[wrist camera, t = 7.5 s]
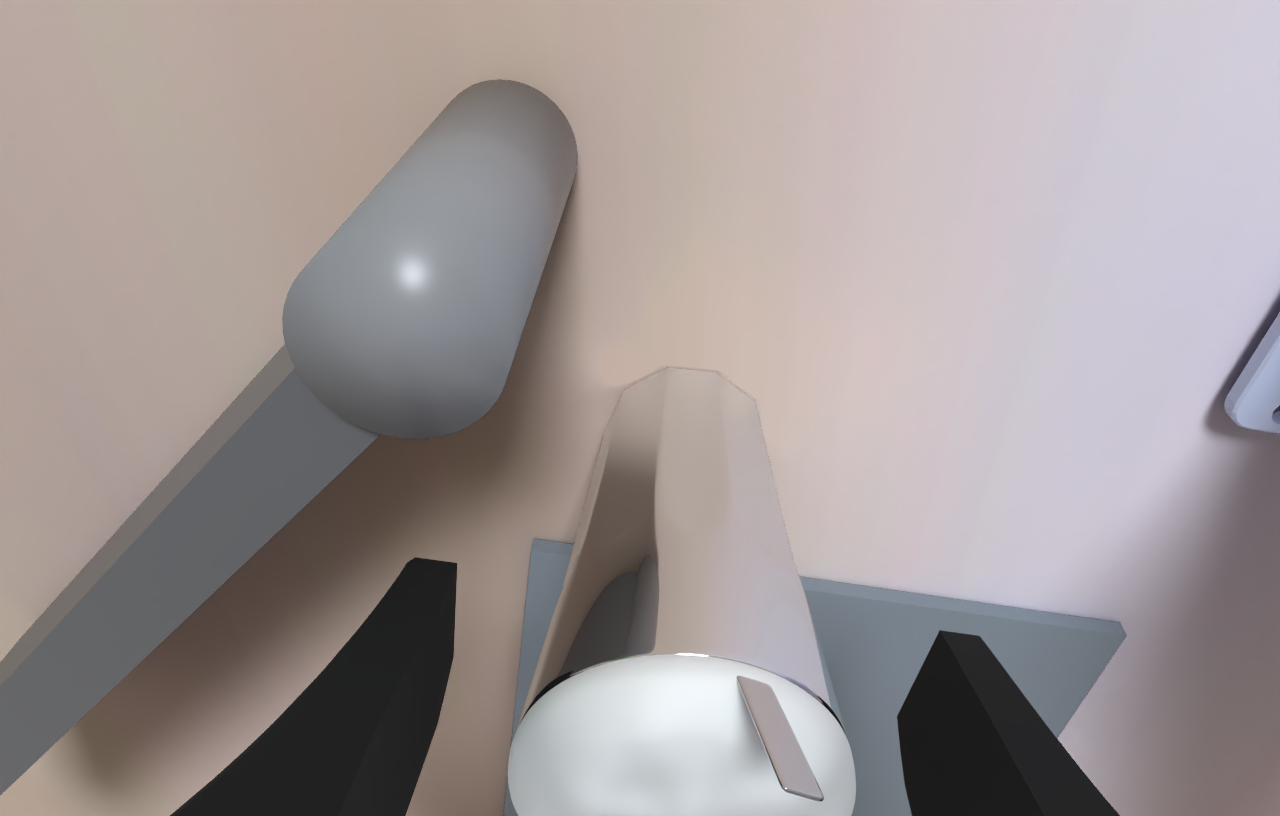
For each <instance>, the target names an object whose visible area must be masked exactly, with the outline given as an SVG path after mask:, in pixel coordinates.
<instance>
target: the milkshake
mask: <svg viewBox="0 0 1280 816" xmlns="http://www.w3.org/2000/svg"><path fill="white" fill-rule="evenodd" d="M508 785H509V791H510V796H511V800H512V803H513V805H514V808H515V810H516V812H517V814H518V816H851V815H852V812H853V809H854V804H855V798H856V776H855V768H854V762H853V757H852V752H851V748H850V745H849V742H848V738H847V734H846V731H845V727H844V724H843V720H842V717H841V713H840V710H839V706H838V703H837V699H836V696H835V693H834V689H833V686H832V682H831V679H830V675H829V672H828V668H827V665H826V661H825V658H824V655H823V651H822V648H821V644H820V641H819V637H818V634H817V631H816V627H815V624H814V621H813V617H812V614H811V611H810V608H809V604H808V601H807V598H806V595H805V592H804V589H803V586H802V583H801V580H800V577H799V574H798V571H797V567H796V564H795V560H794V557H793V553H792V549H791V545H790V541H789V537H788V533H787V529H786V525H785V521H784V517H783V513H782V509H781V505H780V501H779V496H778V492H777V488H776V484H775V480H774V476H773V471H772V467H771V463H770V459H769V455H768V451H767V446H766V442H765V438H764V434H763V430H762V425H761V421H760V417H759V413H758V409H757V405H756V402H755V400H754V399H753V398H751V397H750V396H749V395H747V394H746V393H745V392H743V391H742V390H741V389H740V388H738V387H737V386H736V385H734V384H733V383H732V382H730V381H729V380H728V379H727V378H725V377H724V376H723V375H721V374H720V373H719V372H717V371H705V370H693V369H682V368H671V367H667V368H665V369H663V370H661V371H659V372H657V373H655V374H653V375H651V376H649V377H647V378H645V379H643V380H641V381H639V382H637V383H635V384H633V385H631V386H629V387H627V388H625V389H624V391H623V393H622V395H621V397H620V399H619V401H618V404H617V406H616V408H615V410H614V412H613V414H612V416H611V419H610V421H609V423H608V425H607V427H606V429H605V433H604V436H603V440H602V443H601V447H600V451H599V454H598V458H597V462H596V465H595V469H594V473H593V476H592V480H591V484H590V487H589V491H588V495H587V498H586V502H585V506H584V510H583V513H582V517H581V521H580V524H579V528H578V532H577V535H576V539H575V543H574V546H573V550H572V554H571V557H570V561H569V565H568V568H567V572H566V576H565V579H564V583H563V586H562V590H561V593H560V596H559V599H558V601H557V604H556V607H555V610H554V613H553V616H552V619H551V623H550V626H549V629H548V632H547V635H546V638H545V641H544V645H543V648H542V651H541V654H540V657H539V660H538V663H537V667H536V670H535V673H534V676H533V679H532V682H531V686H530V689H529V692H528V695H527V698H526V701H525V705H524V708H523V711H522V714H521V717H520V721H519V724H518V727H517V731H516V734H515V736H514V739H513V742H512V745H511V748H510V754H509V760H508Z"/></svg>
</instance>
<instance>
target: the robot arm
mask: <svg viewBox="0 0 1280 816" xmlns="http://www.w3.org/2000/svg"><path fill="white" fill-rule="evenodd" d="M1279 405H1280V312H1279V314H1278V315H1277V317H1276V319H1275V320H1274V322H1273V323H1272V325H1271V327H1270V328H1269V330H1268V331H1267V333H1266V335H1265V336H1264V338H1263V339H1262V341H1261V343H1260V344H1259V346H1258V347H1257V349H1256V350H1255V352H1254V354H1253V355H1252V357H1251V358H1250V360H1249V362H1248V363H1247V365H1246V366H1245V368H1244V370H1243V371H1242V373H1241V374H1240V376H1239V377H1238V379H1237V381H1236V382H1235V384H1234V385H1233V387H1232V389H1231V390H1230V392H1229V393H1228V395H1227V397H1226V400H1225V403H1224V407H1225V412H1226V413H1227V414H1228V415H1229V416H1230V418H1231V419H1232V420H1233V421H1234V422H1235V423H1236V424H1237V425H1238V426H1240V427H1242V428H1245V429H1250V430H1256V431H1263V432H1269V433H1276V434H1280V411H1278V412H1276V413H1273V411H1274V410H1275V409H1276V408H1277V407H1278V406H1279ZM456 579H457V563H451V562H444V561H437V560H430V559H422V558H414V559H412V560H410V561H409V562H407V564H406V565H405V567H404V568H403V570H402V571H401V573H400V575H399V576H398V577H397V579H396V580H395V582H394V583H393V584H392V586H391V587H390V589H389V590H388V591H387V593H386V594H385V596H384V597H383V598H382V600H381V601H380V602H379V604H378V605H377V606H376V607H375V609H374V610H373V611H372V613H371V614H370V615H369V616H368V618H367V619H366V620H365V621H364V623H363V624H362V625H361V626H360V628H359V629H358V630H357V631H356V633H355V634H354V635H353V636H352V637H351V638H350V640H349V641H348V642H347V643H346V644H345V645H344V647H343V648H342V649H341V650H340V651H339V653H338V654H337V655H336V656H335V657H334V658H333V660H332V661H331V662H330V663H329V664H328V665H327V667H326V668H325V669H324V670H323V671H322V672H321V673H320V674H319V676H318V677H317V678H316V679H315V680H314V681H313V682H312V683H311V684H310V685H309V686H308V687H307V688H306V689H305V690H304V691H303V692H302V694H301V695H300V696H299V697H298V698H297V699H296V700H295V701H294V702H293V703H292V704H291V705H290V706H289V707H288V708H287V709H286V710H285V711H284V713H283V714H282V715H281V716H280V717H279V718H278V719H277V720H276V721H275V722H274V723H273V724H272V725H271V726H270V727H269V728H268V729H267V730H266V731H265V732H264V733H263V734H262V735H261V736H260V737H258V738H257V739H256V740H255V741H254V742H253V743H252V744H251V745H250V746H249V747H248V748H247V749H246V750H245V751H244V752H243V753H242V754H240V755H239V756H238V757H237V758H236V759H235V760H234V761H233V762H232V763H231V764H230V765H228V766H227V767H226V768H225V769H224V770H223V771H222V772H221V773H220V774H218V775H217V776H216V777H215V778H214V779H213V780H212V781H210V782H209V783H208V784H207V785H206V786H205V787H203V788H202V789H201V790H200V791H199V792H197V793H196V794H195V795H194V796H193V797H192V798H190V799H189V800H188V801H187V802H186V803H184V804H183V805H182V806H181V807H180V808H179V809H177V810H176V811H175V812H174V813H173V814H171V815H170V816H405V815H406V812H407V809H408V806H409V804H410V801H411V798H412V795H413V792H414V789H415V787H416V784H417V781H418V778H419V775H420V772H421V770H422V767H423V764H424V761H425V758H426V755H427V752H428V750H429V747H430V744H431V741H432V738H433V735H434V732H435V729H436V727H437V724H438V720H439V715H440V711H441V707H442V703H443V699H444V695H445V691H446V686H447V682H448V678H449V674H450V669H451V665H452V661H453V654H454V629H455V604H456ZM897 722H898V732H899V742H900V752H901V760H902V767H903V775H904V783H905V788H906V792H907V797H908V801H909V805H910V810H911V814H912V816H1120V815H1119V814H1118V813H1117V812H1116V811H1115V810H1114V808H1113V807H1112V806H1111V805H1110V804H1109V803H1108V801H1107V800H1106V799H1105V798H1104V797H1103V795H1102V794H1101V793H1100V792H1099V791H1098V789H1097V788H1096V787H1095V786H1094V785H1093V783H1092V782H1091V781H1090V780H1089V778H1088V777H1087V776H1086V775H1085V774H1084V772H1083V771H1082V770H1081V769H1080V767H1079V766H1078V765H1077V764H1076V762H1075V761H1074V760H1073V759H1072V757H1071V756H1070V755H1069V753H1068V752H1067V751H1066V750H1065V748H1064V747H1063V746H1062V744H1061V743H1060V742H1059V741H1058V739H1057V738H1056V737H1055V735H1054V734H1053V733H1052V731H1051V730H1050V729H1049V728H1048V726H1047V725H1046V724H1045V722H1044V721H1043V720H1042V718H1041V717H1040V716H1039V714H1038V713H1037V712H1036V710H1035V709H1034V708H1033V706H1032V705H1031V704H1030V702H1029V701H1028V700H1027V698H1026V697H1025V696H1024V694H1023V693H1022V692H1021V690H1020V689H1019V688H1018V686H1017V685H1016V684H1015V682H1014V681H1013V680H1012V678H1011V677H1010V676H1009V674H1008V673H1007V671H1006V670H1005V669H1004V667H1003V666H1002V665H1001V663H1000V662H999V661H998V659H997V658H996V657H995V655H994V654H993V653H992V651H991V650H990V649H989V647H988V646H987V645H986V643H985V642H984V641H983V640H982V638H981V637H980V636H978V635H970V634H963V633H956V632H949V631H942V630H939V633H938V635H937V637H936V639H935V641H934V643H933V645H932V647H931V649H930V651H929V653H928V655H927V657H926V659H925V661H924V663H923V665H922V667H921V669H920V671H919V673H918V675H917V677H916V679H915V681H914V683H913V685H912V687H911V689H910V691H909V693H908V695H907V697H906V699H905V701H904V703H903V705H902V707H901V709H900V711H899V713H898V715H897Z"/></svg>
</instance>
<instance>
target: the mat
mask: <svg viewBox="0 0 1280 816" xmlns="http://www.w3.org/2000/svg"><path fill="white" fill-rule="evenodd" d="M573 546H574V544H569V543H562V542H555V541H548V540H541V539H534V540H533V544H532V549H531V556H530V566H529V576H528V585H527V595H526V604H525V614H524V624H523V633H522V643H521V652H520V662H519V672H518V681H517V691H516V700H515V710H514V719H513V729H512V739H511V745H512V742H513V739H514V736H515V734H516V731H517V727H518V724H519V721H520V717H521V714H522V711H523V708H524V705H525V701H526V698H527V695H528V692H529V689H530V686H531V682H532V679H533V676H534V673H535V670H536V667H537V663H538V660H539V657H540V654H541V651H542V648H543V645H544V641H545V638H546V635H547V632H548V629H549V626H550V623H551V619H552V616H553V613H554V610H555V607H556V604H557V601H558V599H559V596H560V593H561V590H562V586H563V583H564V579H565V576H566V572H567V568H568V565H569V561H570V557H571V554H572V550H573ZM800 580H801V583H802V586H803V589H804V592H805V595H806V598H807V601H808V604H809V608H810V611H811V614H812V617H813V621H814V624H815V627H816V631H817V634H818V637H819V641H820V644H821V648H822V651H823V655H824V658H825V661H826V665H827V668H828V672H829V675H830V679H831V682H832V686H833V689H834V693H835V696H836V699H837V703H838V706H839V710H840V713H841V717H842V720H843V724H844V727H845V731H846V734H847V738H848V742H849V745H850V748H851V752H852V757H853V762H854V768H855V776H856V798H855V804H854V809H853V812H852V815H851V816H912V814H911V810H910V805H909V801H908V797H907V792H906V788H905V783H904V775H903V767H902V760H901V752H900V742H899V732H898V722H897V715H898V713H899V711H900V709H901V707H902V705H903V703H904V701H905V699H906V697H907V695H908V693H909V691H910V689H911V687H912V685H913V683H914V681H915V679H916V677H917V675H918V673H919V671H920V669H921V667H922V665H923V663H924V661H925V659H926V657H927V655H928V653H929V651H930V649H931V647H932V645H933V643H934V641H935V639H936V637H937V635H938V633H939V630H942V631H949V632H956V633H963V634H970V635H978V636H980V637H981V638H982V640H983V641H984V642H985V643H986V645H987V646H988V647H989V649H990V650H991V651H992V653H993V654H994V655H995V657H996V658H997V659H998V661H999V662H1000V663H1001V665H1002V666H1003V667H1004V669H1005V670H1006V671H1007V673H1008V674H1009V676H1010V677H1011V678H1012V680H1013V681H1014V682H1015V684H1016V685H1017V686H1018V688H1019V689H1020V690H1021V692H1022V693H1023V694H1024V696H1025V697H1026V698H1027V700H1028V701H1029V702H1030V704H1031V705H1032V706H1033V708H1034V709H1035V710H1036V712H1037V713H1038V714H1039V716H1040V717H1041V718H1042V720H1043V721H1044V722H1045V724H1046V725H1047V726H1048V728H1049V729H1050V730H1051V731H1052V733H1053V734H1054V735H1055V737H1056V738H1058V736H1059V735H1060V734H1061V732H1062V731H1063V729H1064V728H1065V726H1066V725H1067V723H1068V722H1069V720H1070V719H1071V717H1072V716H1073V714H1074V713H1075V711H1076V710H1077V708H1078V707H1079V705H1080V704H1081V702H1082V701H1083V700H1084V698H1085V697H1086V695H1087V694H1088V692H1089V691H1090V689H1091V688H1092V686H1093V685H1094V683H1095V682H1096V680H1097V679H1098V677H1099V676H1100V674H1101V673H1102V671H1103V670H1104V669H1105V667H1106V666H1107V664H1108V663H1109V661H1110V660H1111V658H1112V657H1113V655H1114V654H1115V652H1116V651H1117V649H1118V648H1119V646H1120V645H1121V643H1122V642H1123V640H1124V639H1125V638H1126V636H1127V635H1126V633H1125V631H1124V629H1123V628H1122V626H1121V624H1120V623H1119V622H1112V621H1106V620H1099V619H1092V618H1085V617H1078V616H1071V615H1064V614H1057V613H1050V612H1043V611H1036V610H1029V609H1022V608H1015V607H1008V606H1001V605H994V604H987V603H980V602H973V601H966V600H959V599H952V598H945V597H938V596H931V595H924V594H917V593H910V592H903V591H896V590H889V589H882V588H875V587H868V586H862V585H855V584H848V583H841V582H834V581H827V580H820V579H813V578H806V577H800ZM503 816H518V814H517V812H516V810H515V808H514V805H513V803H512V800H511V796H510V791H509V785H508V777H507V787H506V796H505V806H504V815H503Z"/></svg>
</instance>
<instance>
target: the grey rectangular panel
mask: <svg viewBox="0 0 1280 816" xmlns="http://www.w3.org/2000/svg"><path fill="white" fill-rule="evenodd" d="M577 158H578V154H577V145H576V141H575V136H574V134H573V131H572V128H571V126H570V124H569V122H568V120H567V118H566V117H565V116H564V114H563V113H562V111H561V110H560V109H559V108H558V106H557V105H556V104H555V103H554V102H553V101H552V100H550V99H549V98H548V97H547V96H546V95H544V94H543V93H541V92H540V91H538V90H536V89H535V88H533V87H531V86H528V85H526V84H523V83H520V82H515V81H511V80H489V81H484V82H480V83H478V84H475V85H472V86H470V87H468V88H467V89H465V90H463V91H462V92H461V93H459V94H458V95H457V96H456V97H455V98H454V99H453V100H452V101H451V102H450V103H449V104H448V105H447V107H446V108H445V109H444V110H443V111H442V112H441V113H440V114H439V116H438V117H437V118H436V119H435V120H434V121H433V122H432V124H431V125H430V126H429V127H428V128H427V129H426V130H425V131H424V133H423V134H422V135H421V136H420V137H419V138H418V139H417V141H416V142H415V143H414V144H413V145H412V146H411V147H410V149H409V150H408V151H407V152H406V153H405V154H404V155H403V156H402V158H401V159H400V160H399V161H398V162H397V163H396V164H395V166H394V167H393V168H392V169H391V170H390V171H389V172H388V173H387V175H386V176H385V177H384V178H383V179H382V180H381V181H380V183H379V184H378V185H377V186H376V187H375V188H374V189H373V190H372V192H371V193H370V194H369V195H368V196H367V197H366V198H365V200H364V201H363V202H362V203H361V204H360V205H359V206H358V207H357V209H356V210H355V211H354V212H353V213H352V214H351V215H350V217H349V218H348V219H347V220H346V221H345V222H344V223H343V224H342V226H341V227H340V228H339V229H338V230H337V231H336V232H335V234H334V235H333V236H332V237H331V238H330V239H329V240H328V241H327V243H326V244H325V245H324V246H323V247H322V248H321V249H320V251H319V252H318V253H317V254H316V255H315V256H314V257H313V258H312V260H311V261H310V262H309V263H308V264H307V265H306V266H305V268H304V269H303V270H302V271H301V272H300V274H299V275H298V276H297V278H296V279H295V280H294V282H293V284H292V286H291V288H290V290H289V292H288V294H287V298H286V301H285V304H284V311H283V334H284V340H285V345H284V346H283V347H282V348H281V349H280V350H279V351H278V352H277V353H276V355H275V356H274V357H273V358H272V359H271V360H270V361H269V362H268V363H267V365H266V366H265V367H264V368H263V369H262V370H261V371H260V372H259V373H258V375H257V376H256V377H255V378H254V379H253V380H252V381H251V382H250V383H249V385H248V386H247V387H246V388H245V389H244V390H243V391H242V392H241V394H240V395H239V396H238V397H237V398H236V399H235V400H234V401H233V402H232V404H231V405H230V406H229V407H228V408H227V409H226V410H225V411H224V412H223V414H222V415H221V416H220V417H219V418H218V419H217V420H216V421H215V422H214V424H213V425H212V426H211V427H210V428H209V429H208V430H207V431H206V432H205V434H204V435H203V436H202V437H201V438H200V439H199V440H198V441H197V442H196V444H195V445H194V446H193V447H192V448H191V449H190V450H189V451H188V452H187V454H186V455H185V456H184V457H183V458H182V459H181V460H180V461H179V462H178V464H177V465H176V466H175V467H174V468H173V469H172V470H171V471H170V472H169V474H168V475H167V476H166V477H165V478H164V479H163V480H162V481H161V482H160V484H159V485H158V486H157V487H156V488H155V489H154V490H153V491H152V492H151V494H150V495H149V496H148V497H147V498H146V499H145V500H144V501H143V502H142V504H141V505H140V506H139V507H138V508H137V509H136V510H135V511H134V512H133V514H132V515H131V516H130V517H129V518H128V519H127V520H126V521H125V522H124V524H123V525H122V526H121V527H120V528H119V529H118V530H117V531H116V533H115V534H114V535H113V536H112V537H111V538H110V539H109V540H108V541H107V543H106V544H105V545H104V546H103V547H102V548H101V549H100V550H99V551H98V553H97V554H96V555H95V556H94V557H93V558H92V559H91V560H90V561H89V563H88V564H87V565H86V566H85V567H84V568H83V569H82V570H81V571H80V573H79V574H78V575H77V576H76V577H75V578H74V579H73V580H72V581H71V583H70V584H69V585H68V586H67V587H66V588H65V589H64V590H63V591H62V593H61V594H60V595H59V596H58V597H57V598H56V599H55V600H54V601H53V603H52V604H51V605H50V606H49V607H48V608H47V609H46V610H45V611H44V613H43V614H42V615H41V616H40V617H39V618H38V619H37V620H36V621H35V623H34V624H33V625H32V626H31V627H30V628H29V629H28V630H27V631H26V633H25V634H24V635H23V636H22V637H21V638H20V639H19V641H18V642H17V643H16V644H15V645H14V647H13V648H12V649H11V650H10V652H9V653H8V654H7V655H6V656H5V658H4V659H3V660H2V661H1V662H0V795H1V794H2V793H3V792H4V791H5V790H6V789H8V788H9V787H10V786H11V785H12V784H13V783H14V782H15V781H16V780H17V779H18V778H19V777H20V776H21V775H22V774H23V773H24V772H25V771H27V770H28V769H29V768H30V767H31V766H32V765H33V764H34V763H35V762H36V761H37V760H38V759H39V758H40V757H41V756H42V755H43V754H44V753H45V752H47V751H48V750H49V749H50V748H51V747H52V746H53V745H54V744H55V743H56V742H57V741H58V740H59V739H60V738H61V737H62V736H63V735H64V734H65V733H67V732H68V731H69V730H70V729H71V728H72V727H73V726H74V725H75V724H76V723H77V722H78V721H79V720H80V719H81V718H82V717H83V716H84V715H86V714H87V713H88V712H89V711H90V710H91V709H92V708H93V707H94V706H95V705H96V704H97V703H98V702H99V701H100V700H101V699H102V698H103V697H104V696H106V695H107V694H108V693H109V692H110V691H111V690H112V689H113V688H114V687H115V686H116V685H117V684H118V683H119V682H120V681H121V680H122V679H123V678H125V677H126V676H127V675H128V674H129V673H130V672H131V671H132V670H133V669H134V668H135V667H136V666H137V665H138V664H139V663H140V662H141V661H142V660H143V659H145V658H146V657H147V656H148V655H149V654H150V653H151V652H152V651H153V650H154V649H155V648H156V647H157V646H158V645H159V644H160V643H161V642H162V641H163V640H165V639H166V638H167V637H168V636H169V635H170V634H171V633H172V632H173V631H174V630H175V629H176V628H177V627H178V626H179V625H180V624H181V623H182V622H184V621H185V620H186V619H187V618H188V617H189V616H190V615H191V614H192V613H193V612H194V611H195V610H196V609H197V608H198V607H199V606H200V605H201V604H202V603H204V602H205V601H206V600H207V599H208V598H209V597H210V596H211V595H212V594H213V593H214V592H215V591H216V590H217V589H218V588H219V587H220V586H221V585H223V584H224V583H225V582H226V581H227V580H228V579H229V578H230V577H231V576H232V575H233V574H234V573H235V572H236V571H237V570H238V569H239V568H240V567H241V566H243V565H244V564H245V563H246V562H247V561H248V560H249V559H250V558H251V557H252V556H253V555H254V554H255V553H256V552H257V551H258V550H259V549H260V548H261V547H263V546H264V545H265V544H266V543H267V542H268V541H269V540H270V539H271V538H272V537H273V536H274V535H275V534H276V533H277V532H278V531H279V530H280V529H282V528H283V527H284V526H285V525H286V524H287V523H288V522H289V521H290V520H291V519H292V518H293V517H294V516H295V515H296V514H297V513H298V512H299V511H300V510H302V509H303V508H304V507H305V506H306V505H307V504H308V503H309V502H310V501H311V500H312V499H313V498H314V497H315V496H316V495H317V494H318V493H319V492H321V491H322V490H323V489H324V488H325V487H326V486H327V485H328V484H329V483H330V482H331V481H332V480H333V479H334V478H335V477H336V476H337V475H338V474H339V473H341V472H342V471H343V470H344V469H345V468H346V467H347V466H348V465H349V464H350V463H351V462H352V461H353V460H354V459H355V458H356V457H357V456H358V455H359V454H361V453H362V452H363V451H364V450H365V449H366V448H367V447H368V446H369V445H370V444H371V443H372V442H373V441H374V440H375V439H376V438H377V437H378V436H380V435H381V434H382V435H385V436H391V437H396V438H404V439H430V438H437V437H442V436H446V435H450V434H453V433H455V432H458V431H461V430H463V429H465V428H467V427H469V426H470V425H472V424H474V423H475V422H477V421H478V420H479V419H480V418H482V417H483V416H484V415H485V414H486V413H487V412H488V411H489V410H490V409H491V408H492V407H493V405H494V404H495V403H496V401H497V400H498V398H499V396H500V394H501V392H502V390H503V388H504V386H505V383H506V380H507V377H508V374H509V371H510V368H511V365H512V362H513V359H514V356H515V353H516V350H517V347H518V344H519V341H520V338H521V335H522V332H523V329H524V326H525V323H526V320H527V317H528V315H529V312H530V309H531V306H532V303H533V300H534V297H535V294H536V291H537V288H538V285H539V282H540V279H541V276H542V273H543V270H544V267H545V264H546V261H547V258H548V255H549V252H550V249H551V246H552V243H553V240H554V237H555V234H556V231H557V228H558V225H559V222H560V219H561V216H562V213H563V210H564V207H565V204H566V201H567V199H568V196H569V193H570V190H571V187H572V184H573V181H574V177H575V174H576V169H577Z"/></svg>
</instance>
